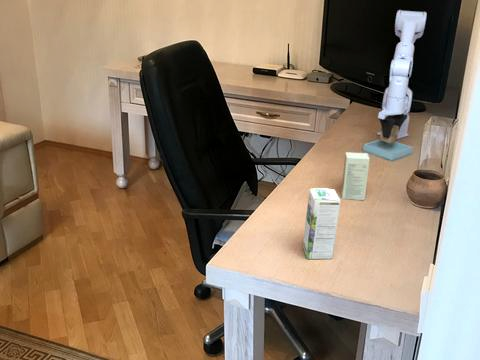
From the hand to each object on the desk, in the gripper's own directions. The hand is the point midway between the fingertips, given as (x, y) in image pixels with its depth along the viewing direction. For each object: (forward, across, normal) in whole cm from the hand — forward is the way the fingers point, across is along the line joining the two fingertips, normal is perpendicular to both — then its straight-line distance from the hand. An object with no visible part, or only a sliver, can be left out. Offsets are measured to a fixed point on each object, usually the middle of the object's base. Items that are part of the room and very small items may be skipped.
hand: (390, 136), depth 176 cm
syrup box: (+6, +68, +28) cm, 74 cm away
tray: (+6, 0, 0) cm, 6 cm away
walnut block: (+2, 0, 0) cm, 2 cm away
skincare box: (+6, +38, +15) cm, 41 cm away
